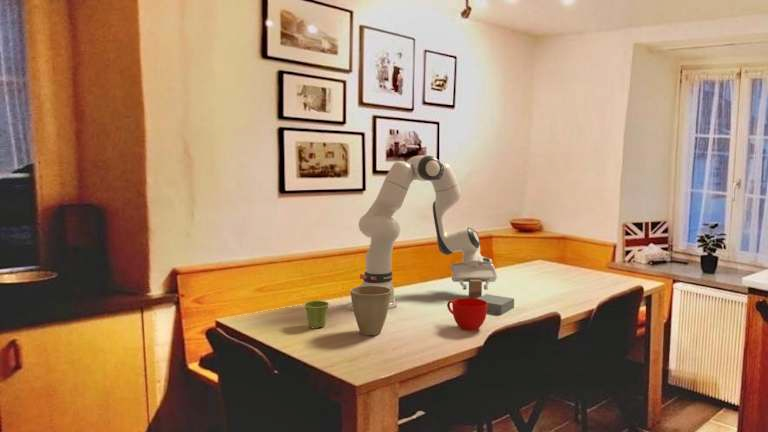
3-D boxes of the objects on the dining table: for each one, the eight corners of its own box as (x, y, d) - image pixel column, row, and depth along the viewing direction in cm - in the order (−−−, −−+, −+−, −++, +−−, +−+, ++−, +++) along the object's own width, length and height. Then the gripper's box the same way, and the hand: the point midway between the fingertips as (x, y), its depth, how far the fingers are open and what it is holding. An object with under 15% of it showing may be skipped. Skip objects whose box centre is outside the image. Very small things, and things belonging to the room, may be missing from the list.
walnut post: (481, 301, 252) (481, 281, 251) (470, 301, 252) (470, 281, 251) (479, 298, 257) (480, 278, 256) (468, 298, 257) (468, 278, 256)
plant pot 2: (396, 337, 202) (396, 293, 201) (355, 340, 198) (355, 296, 196) (384, 324, 217) (384, 284, 215) (346, 328, 212) (346, 286, 211)
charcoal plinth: (501, 314, 231) (501, 305, 230) (472, 309, 238) (472, 300, 238) (513, 307, 241) (514, 298, 241) (485, 302, 249) (486, 294, 248)
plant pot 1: (318, 331, 208) (318, 308, 207) (299, 327, 213) (298, 304, 212) (334, 325, 216) (334, 303, 215) (314, 321, 221) (314, 299, 220)
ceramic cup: (457, 318, 225) (458, 294, 224) (493, 328, 213) (494, 302, 212) (436, 325, 216) (437, 300, 215) (472, 336, 204) (473, 309, 203)
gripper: (450, 259, 260) (452, 285, 251) (495, 259, 260) (499, 285, 251) (449, 266, 265) (451, 292, 256) (493, 267, 264) (496, 292, 256)
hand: (475, 288), depth 253 cm, fingers open, 8 cm apart
